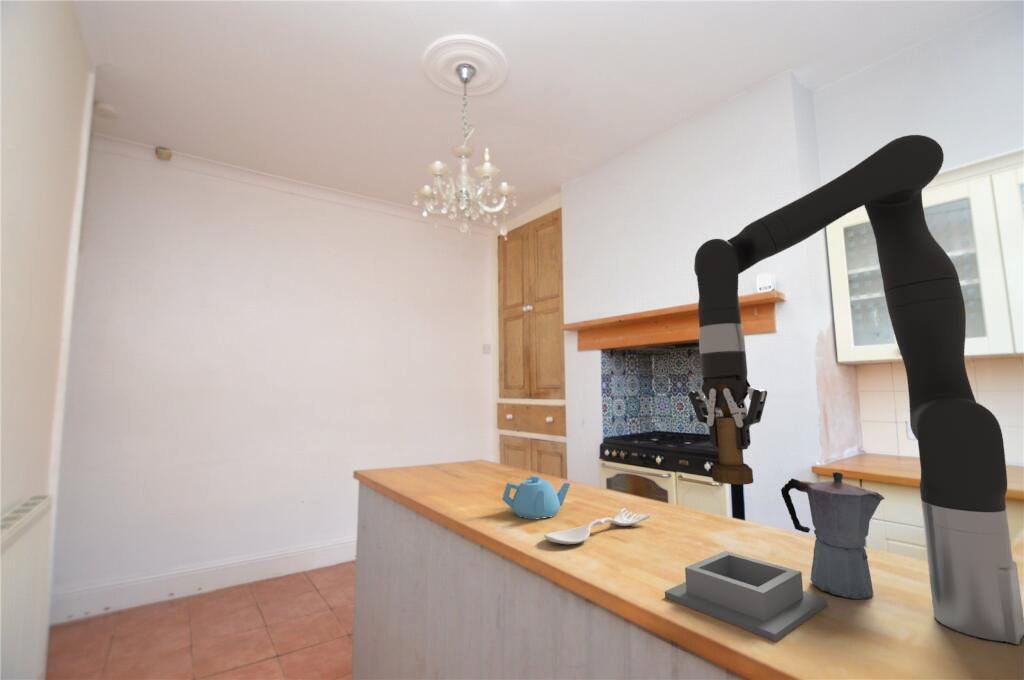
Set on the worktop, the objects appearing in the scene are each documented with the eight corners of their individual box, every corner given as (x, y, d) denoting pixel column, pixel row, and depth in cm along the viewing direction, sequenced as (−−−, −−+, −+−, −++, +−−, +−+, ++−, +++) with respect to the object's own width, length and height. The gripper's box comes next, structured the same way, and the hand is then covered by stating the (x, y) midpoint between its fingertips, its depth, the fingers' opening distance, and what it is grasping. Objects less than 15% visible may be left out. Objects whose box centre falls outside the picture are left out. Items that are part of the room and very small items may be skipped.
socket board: (827, 604, 75) (824, 572, 76) (775, 641, 65) (773, 603, 65) (721, 571, 90) (719, 544, 90) (665, 597, 79) (663, 566, 80)
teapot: (530, 505, 145) (529, 469, 146) (572, 512, 136) (571, 474, 137) (499, 515, 133) (498, 477, 135) (542, 524, 124) (541, 482, 125)
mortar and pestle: (758, 485, 77) (748, 376, 79) (716, 484, 79) (708, 378, 81) (747, 478, 84) (738, 377, 86) (709, 477, 85) (701, 379, 87)
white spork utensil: (652, 526, 121) (651, 512, 122) (563, 553, 102) (562, 537, 102) (624, 519, 128) (624, 506, 129) (536, 543, 109) (536, 528, 109)
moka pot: (898, 610, 73) (884, 480, 75) (785, 588, 82) (775, 472, 84) (893, 588, 81) (880, 470, 83) (790, 570, 90) (781, 464, 92)
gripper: (773, 348, 80) (782, 449, 78) (698, 355, 92) (705, 443, 90) (750, 346, 76) (760, 453, 74) (675, 354, 87) (682, 447, 85)
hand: (730, 447), depth 82 cm, fingers closed on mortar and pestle, 4 cm apart
